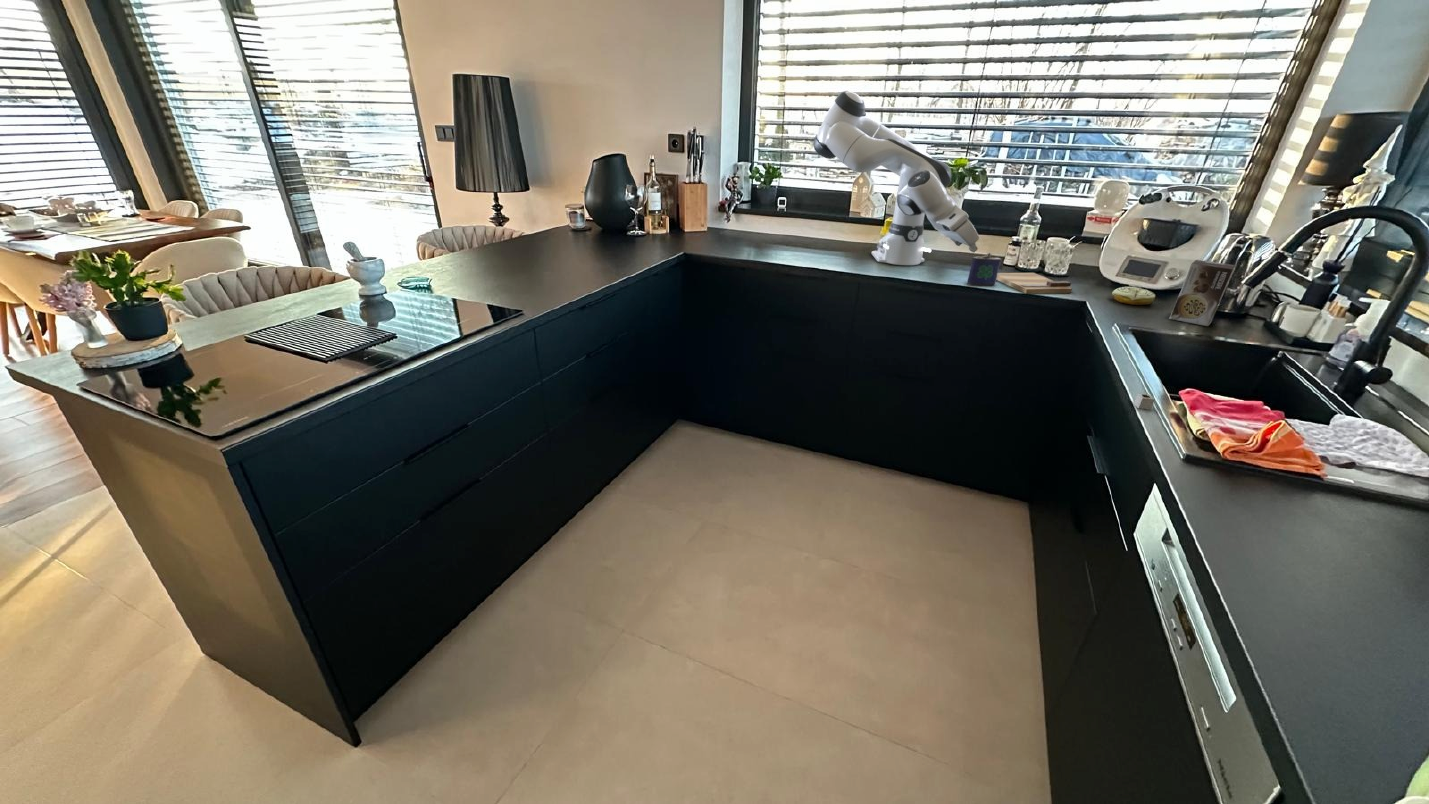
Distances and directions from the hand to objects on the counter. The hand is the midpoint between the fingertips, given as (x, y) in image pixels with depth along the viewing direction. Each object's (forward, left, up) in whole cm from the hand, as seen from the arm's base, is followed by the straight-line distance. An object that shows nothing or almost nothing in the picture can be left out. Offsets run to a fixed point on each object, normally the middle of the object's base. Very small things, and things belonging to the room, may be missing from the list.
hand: (967, 247), depth 181 cm
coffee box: (+39, +49, -13) cm, 64 cm away
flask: (0, +8, -13) cm, 15 cm away
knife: (+7, +25, -11) cm, 28 cm away
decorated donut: (+21, +46, -13) cm, 52 cm away
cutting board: (+1, +25, -12) cm, 28 cm away
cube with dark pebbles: (+87, -8, -13) cm, 88 cm away
